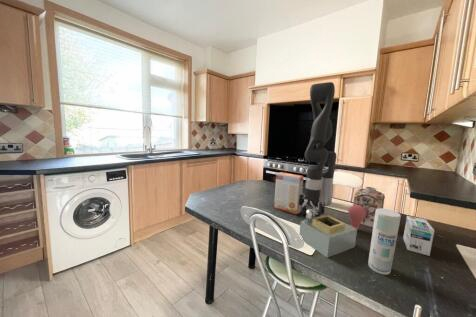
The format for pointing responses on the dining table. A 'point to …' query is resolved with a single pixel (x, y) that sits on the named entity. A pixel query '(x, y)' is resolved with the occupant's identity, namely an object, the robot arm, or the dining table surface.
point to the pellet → (310, 213)
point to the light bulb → (356, 215)
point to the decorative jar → (369, 203)
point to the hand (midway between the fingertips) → (310, 217)
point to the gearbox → (328, 235)
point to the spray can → (383, 240)
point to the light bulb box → (418, 235)
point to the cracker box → (288, 192)
